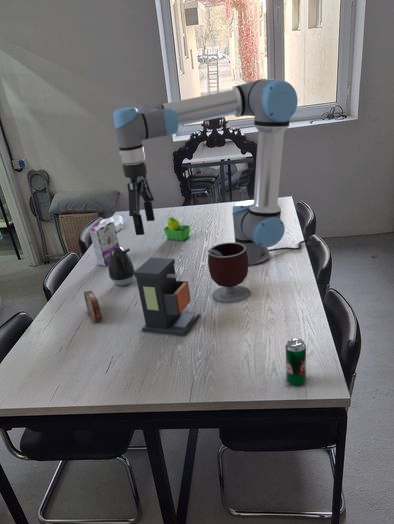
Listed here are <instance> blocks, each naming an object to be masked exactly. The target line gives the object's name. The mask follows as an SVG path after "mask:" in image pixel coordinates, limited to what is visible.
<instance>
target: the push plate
mask: <svg viewBox="0 0 394 524" xmlns="http://www.w3.org/2000/svg"><path fill="white" fill-rule="evenodd" d="M188 286H189V283H188V284H187V283H183V284H182V285H181V286H180V287H179V288H178V290H177V291H176V292H175V293H174V295H176V300H177V307H178V313H179V314H180V313H181V312H182V311H185V309H186V308H187V306H188V305H189V304H190V303H191V301H190V300H191V297H190V298H189V293H190V290H189V291H188Z"/></svg>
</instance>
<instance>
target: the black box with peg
mask: <svg viewBox="0 0 394 524" xmlns="http://www.w3.org/2000/svg"><path fill="white" fill-rule="evenodd" d="M175 264H176V261H175V258H171V257H169V258H167V257H149V258H148V259H147V260H146V261H145V262H144V263H143V264H141V265H140V266H139V267H138V268H137V269H136V270H135V272H134V278H135V279H136V283H137V289H138V293H139V298H140V299H139V300H140V303H141V309H142V313H143V318H144V323H145V324H144V326H142V327H141V328H142V329H141V330H142V332H146V333H155V334H156V333H157V334H164V335H165V334H166V335H173V336H174V335H175V336H185V335H186V334H187V332H188V331H189V330H190V329H191V327H192V326H193V325H194V324H195V322H196V321H197V320H198V318H199V317H200V313H199V312H192V311H185V310H183V311H182V312H181V313H180V314H179V313H178V307H177V300H176V295H174V293H175V292H176V291H177V290H178V288H179V287H180V286H181V285H182V284H183V283H187V284H188V291H189V298H190V302H191V295H190V294H191V293H190V287H189V281H188V280H177V278H178V277H177V276H178V275H177V274H176V269H175Z"/></svg>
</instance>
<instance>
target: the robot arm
mask: <svg viewBox="0 0 394 524" xmlns="http://www.w3.org/2000/svg"><path fill="white" fill-rule="evenodd" d="M298 99H299V98H298V94H297V91H296V89H295V87H294V86H293V85H292V84H291V83H289V82H288V81H286V80H283V79H278V78H276V79H272V78H271V79H269V78H259V79H255V80H252V81H249V82H246V83H242V84H238V85H234V86H232V87H231V88H230V90H226V91H221V92H216V93H210V94H206V95H200V96H196V97H190V98H186V99H180V100H175V101H171V102H166V103H161V104H156V105H152V106H150V105H145V106H141V107H140V108H139V109H137V108H136V107H135V106H130V107H121V108H117V109H115V110H114V111H113V113H112V117H113V123H114V124H113V125H114V131H115V135H116V139H117V145H118V149H119V150H118V151H119V152H118V155H119V156H120V159H121V163H122V170H123V175H124V177H125V178H128V179H130V182H129V183H127V184H126V186H127V192H128V194H127V195H128V215H129V217H132V221H133V227H134V232H135V235H136V236H143V235H145V234H146V233H145V229H144V223H143V218H142V214H141V198H142V199H143V208H144V213H145V218H146V222H155V220H156V218H155V214H154V207H153V202H154V200H155V197H154V196H153V192H152V189H151V186H150V183H149V181H148V177H147V174H148V165H147V162H146V161H145V160H146V154H145V153H146V152H145V149H144V144H143V141H147V140H150V139H156V138H162V137H169V136H173V135H176V134H177V133H178V131H179V129H180V128H179V127H181V126H185V125H190V124H195V123H200V122H204V121H205V122H206V121H210V120H214V119H220V118H225V117H229V116H235V118H240V117H247V116H248V117H254V121H253V123H254V124H253V126H254V127H255V128H256V130H257V145H256V159H255V175H254V189H253V191H254V192H253V193H254V194H253V199H251V200H243V201H240V202H237V203H235V204H234V205H233V206H232V213H231V214H232V221H233V222H232V223H233V233H234V243H240V244H243V245H244V246H245V247H246V251H247V255H248V266H256V265H260V264H262V263H265V262H266V261H268V260H269V258H270V252H275V251H283V250H291V251H296V250H300V249H301V248H302V246H301V245H302V244H304V243H307V242H309V241H312V240H311V239H312V238H307V239H304V240H301V241H299V242H298V247H289V246H288V247H287V246H286V247H285V246H284V247H277V248H271V247H274V246H276V245H277V244H278V243H279V242H280V241H281V240H282V239H283V237H284V234H285V231H286V230H285V229H286V227H285V223H284V221H283V220H282V219H281V216H282V208H281V206H280V205H279V204H278V203H279V201H278V200H279V192H280V191H279V190H280V181H281V179H280V178H281V169H282V158H283V145H284V135H285V131H286V130H287V129H288V128H289V127H290V121H291V118H292V117H293V115H294V114H295V113H296V111H297V107H298V103H299V102H298V101H299V100H298ZM269 248H270V249H269Z"/></svg>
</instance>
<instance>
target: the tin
mask: <svg viewBox="0 0 394 524" xmlns="http://www.w3.org/2000/svg"><path fill="white" fill-rule="evenodd" d="M83 297H84V301H85V304H86V309H87V311H88V314H89V315H90V317H91V319H92V322H93V323H96V322H99V321H102V314H101V307H100V303H99V300H98V297H96V295H95V293H94V292H93V291H92V290H85V291H84V292H83Z"/></svg>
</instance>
